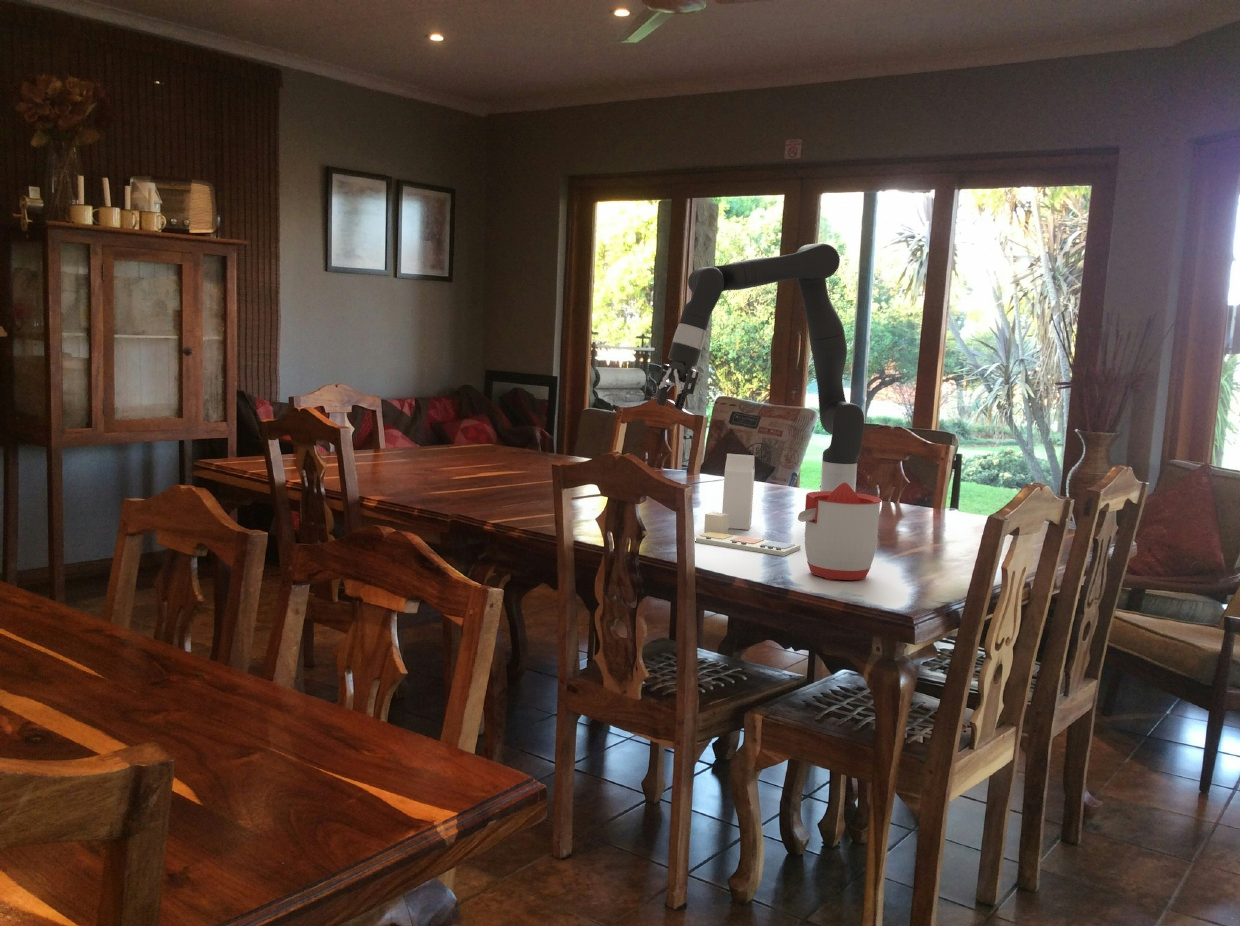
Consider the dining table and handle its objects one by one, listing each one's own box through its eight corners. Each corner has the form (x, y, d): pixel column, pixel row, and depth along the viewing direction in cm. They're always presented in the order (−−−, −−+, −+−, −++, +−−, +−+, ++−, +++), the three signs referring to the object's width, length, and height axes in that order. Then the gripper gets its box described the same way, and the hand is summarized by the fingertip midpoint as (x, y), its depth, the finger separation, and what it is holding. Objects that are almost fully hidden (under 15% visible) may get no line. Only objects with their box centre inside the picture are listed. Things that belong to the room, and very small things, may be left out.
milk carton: (748, 530, 275) (753, 457, 273) (721, 528, 276) (725, 455, 274) (751, 525, 282) (755, 454, 280) (724, 523, 283) (728, 452, 281)
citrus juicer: (782, 567, 233) (788, 476, 230) (855, 566, 237) (862, 477, 234) (810, 584, 218) (817, 487, 215) (888, 583, 222) (896, 488, 219)
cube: (712, 531, 272) (713, 511, 271) (728, 533, 270) (729, 514, 269) (704, 533, 268) (705, 513, 267) (720, 536, 266) (721, 516, 265)
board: (709, 535, 265) (709, 530, 265) (800, 549, 253) (800, 544, 253) (690, 541, 257) (690, 535, 257) (783, 556, 245) (784, 550, 245)
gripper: (714, 351, 263) (695, 414, 264) (684, 346, 276) (666, 407, 276) (690, 343, 260) (671, 407, 260) (660, 338, 272) (642, 399, 272)
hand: (668, 407), depth 268 cm, fingers open, 8 cm apart
